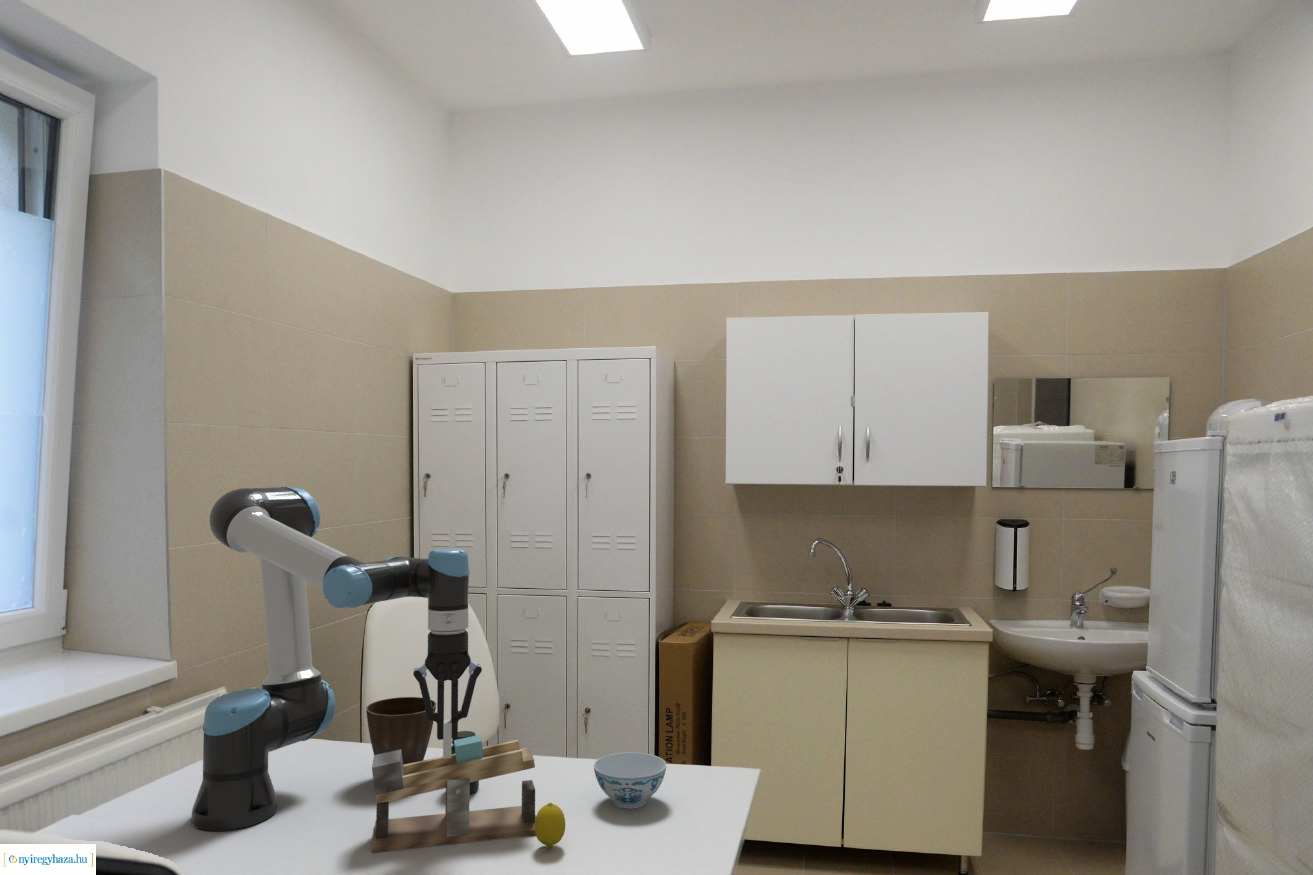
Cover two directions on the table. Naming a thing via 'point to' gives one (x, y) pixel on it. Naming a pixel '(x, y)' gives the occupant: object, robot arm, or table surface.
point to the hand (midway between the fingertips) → (447, 755)
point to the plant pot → (400, 727)
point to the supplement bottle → (461, 735)
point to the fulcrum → (455, 822)
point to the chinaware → (630, 777)
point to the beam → (443, 770)
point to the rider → (468, 749)
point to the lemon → (550, 825)
